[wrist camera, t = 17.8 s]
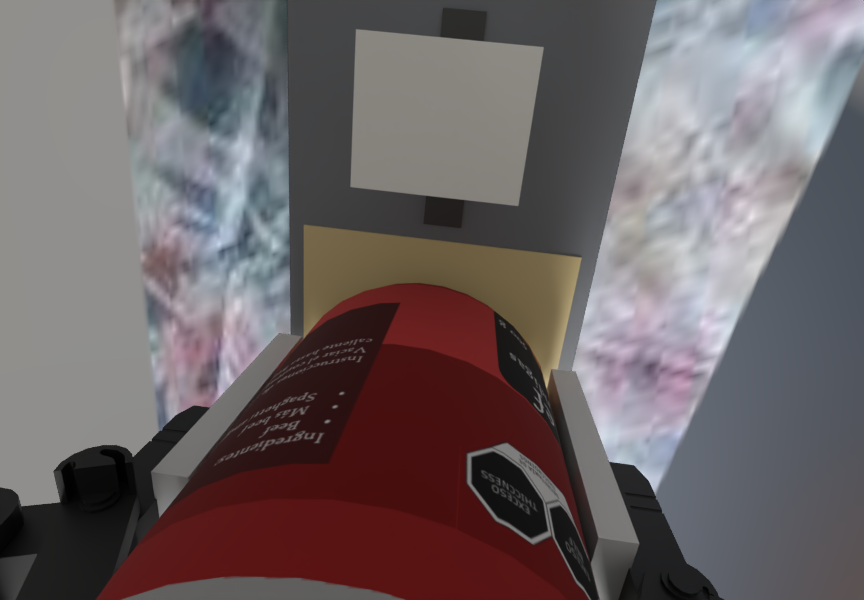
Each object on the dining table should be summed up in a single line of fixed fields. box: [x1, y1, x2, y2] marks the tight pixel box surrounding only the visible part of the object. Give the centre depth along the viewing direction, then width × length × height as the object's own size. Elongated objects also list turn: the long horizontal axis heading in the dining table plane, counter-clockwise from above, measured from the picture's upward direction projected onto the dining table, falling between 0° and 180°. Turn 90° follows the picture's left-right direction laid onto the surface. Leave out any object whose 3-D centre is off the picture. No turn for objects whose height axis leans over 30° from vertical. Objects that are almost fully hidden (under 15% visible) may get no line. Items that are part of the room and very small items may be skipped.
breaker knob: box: [350, 29, 544, 206], centre depth 12 cm, size 3×4×4 cm
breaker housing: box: [287, 0, 656, 388], centre depth 18 cm, size 24×10×5 cm, turn 174°
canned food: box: [96, 283, 600, 600], centre depth 11 cm, size 8×8×11 cm
